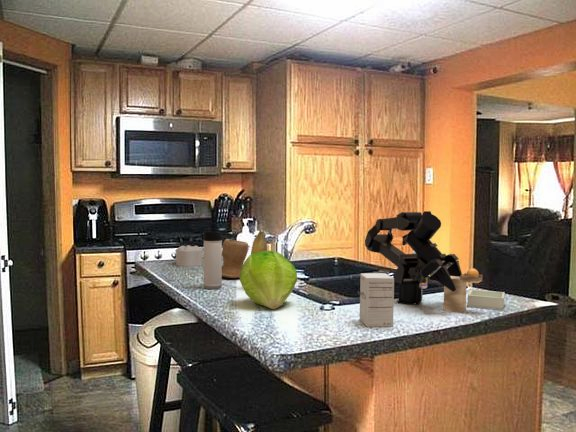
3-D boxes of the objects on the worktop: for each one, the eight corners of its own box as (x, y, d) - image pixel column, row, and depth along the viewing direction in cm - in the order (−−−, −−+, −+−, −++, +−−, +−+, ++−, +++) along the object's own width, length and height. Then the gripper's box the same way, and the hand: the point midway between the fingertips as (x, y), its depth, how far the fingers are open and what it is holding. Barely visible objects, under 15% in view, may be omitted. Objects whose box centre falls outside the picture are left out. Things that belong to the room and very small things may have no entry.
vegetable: (257, 291, 179) (257, 232, 178) (246, 288, 184) (246, 231, 183) (270, 288, 183) (271, 231, 182) (259, 286, 188) (259, 230, 187)
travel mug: (199, 288, 182) (199, 231, 181) (209, 285, 188) (209, 229, 187) (215, 290, 180) (215, 231, 179) (224, 287, 186) (225, 230, 185)
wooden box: (443, 310, 153) (444, 273, 152) (448, 307, 157) (449, 271, 156) (476, 315, 148) (477, 277, 147) (481, 311, 152) (482, 274, 151)
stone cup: (254, 277, 206) (254, 239, 206) (230, 281, 198) (230, 241, 197) (230, 273, 217) (230, 236, 216) (206, 276, 209) (206, 238, 208)
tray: (467, 306, 158) (467, 295, 158) (470, 300, 167) (470, 289, 167) (503, 310, 154) (503, 298, 154) (504, 303, 163) (504, 292, 163)
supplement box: (358, 319, 141) (359, 272, 140) (386, 319, 141) (387, 272, 141) (365, 327, 133) (366, 277, 133) (393, 326, 134) (394, 277, 133)
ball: (465, 279, 150) (467, 269, 149) (466, 275, 152) (468, 265, 152) (476, 282, 148) (479, 272, 148) (477, 278, 151) (480, 268, 150)
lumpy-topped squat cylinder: (183, 267, 232) (183, 247, 231) (171, 264, 242) (171, 245, 242) (205, 265, 238) (205, 246, 237) (192, 262, 248) (192, 244, 248)
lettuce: (233, 315, 150) (256, 276, 143) (230, 270, 167) (251, 232, 160) (286, 329, 157) (311, 293, 149) (278, 284, 173) (300, 249, 166)
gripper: (416, 261, 169) (449, 299, 164) (392, 268, 154) (428, 310, 148) (441, 238, 164) (476, 277, 159) (419, 243, 149) (457, 286, 143)
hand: (459, 288), depth 152 cm, fingers open, 9 cm apart
